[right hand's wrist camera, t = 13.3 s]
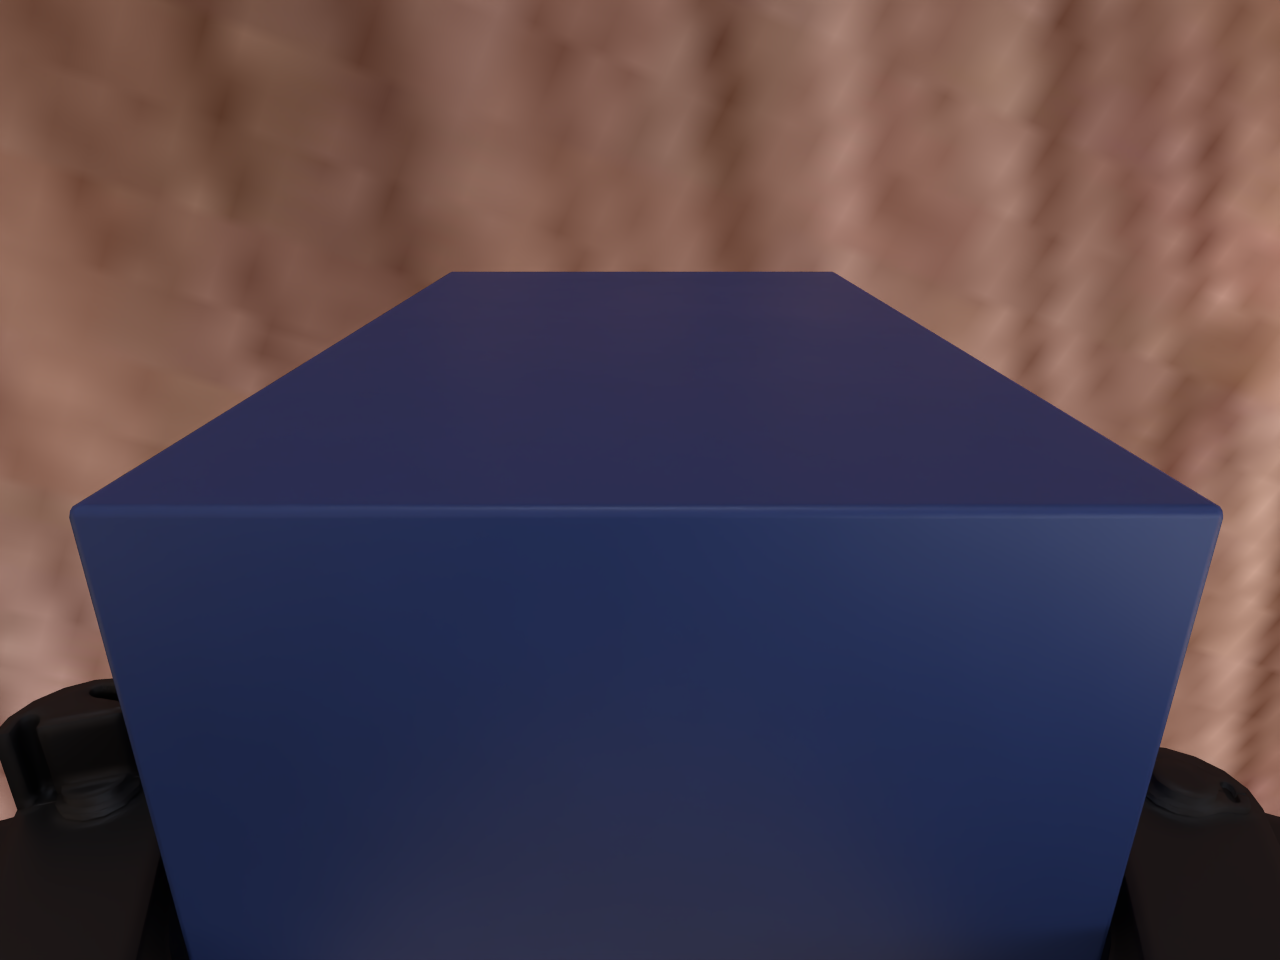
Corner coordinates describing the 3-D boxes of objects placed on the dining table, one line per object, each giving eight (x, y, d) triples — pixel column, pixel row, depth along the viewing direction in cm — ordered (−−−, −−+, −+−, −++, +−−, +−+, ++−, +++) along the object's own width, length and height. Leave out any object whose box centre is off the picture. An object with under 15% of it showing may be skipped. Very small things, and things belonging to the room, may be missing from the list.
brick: (449, 271, 14) (61, 508, 5) (834, 271, 14) (1233, 508, 5) (484, 710, 18) (298, 1374, 8) (798, 710, 18) (988, 1374, 8)
